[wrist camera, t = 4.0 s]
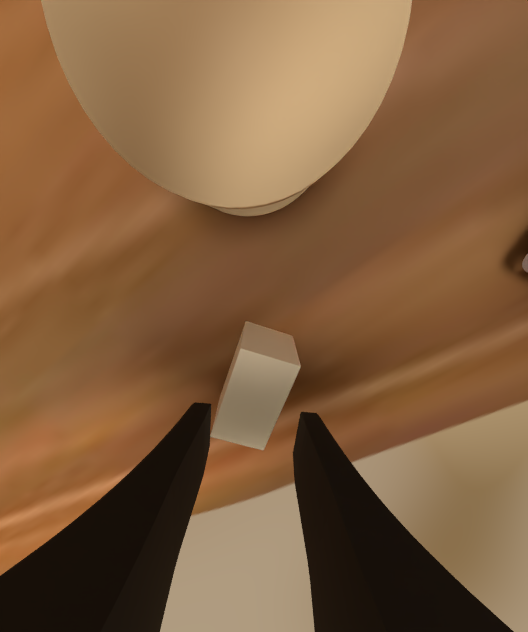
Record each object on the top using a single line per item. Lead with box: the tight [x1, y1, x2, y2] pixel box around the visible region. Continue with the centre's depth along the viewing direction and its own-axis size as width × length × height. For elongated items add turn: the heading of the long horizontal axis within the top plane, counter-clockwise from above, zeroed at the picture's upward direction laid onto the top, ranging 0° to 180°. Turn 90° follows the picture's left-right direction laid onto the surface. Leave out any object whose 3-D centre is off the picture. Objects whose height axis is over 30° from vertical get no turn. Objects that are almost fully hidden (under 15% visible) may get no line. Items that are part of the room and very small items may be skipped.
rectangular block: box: [210, 321, 301, 450], centre depth 12 cm, size 3×5×3 cm, turn 161°
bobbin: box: [41, 0, 412, 216], centre depth 7 cm, size 7×7×6 cm
